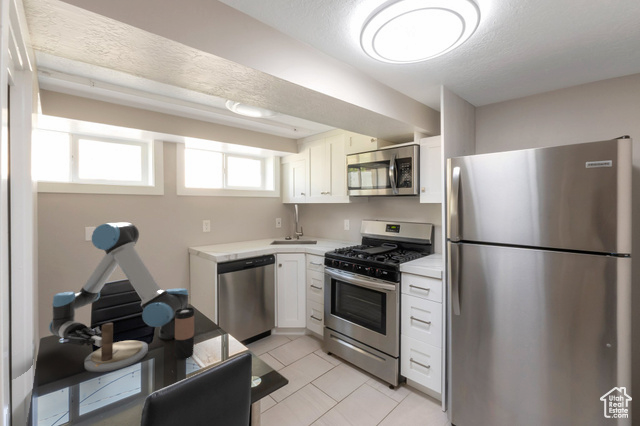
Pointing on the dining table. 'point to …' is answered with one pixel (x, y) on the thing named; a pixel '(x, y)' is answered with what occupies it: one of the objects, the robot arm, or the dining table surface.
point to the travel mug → (184, 333)
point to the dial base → (115, 365)
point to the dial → (114, 347)
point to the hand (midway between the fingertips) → (101, 342)
